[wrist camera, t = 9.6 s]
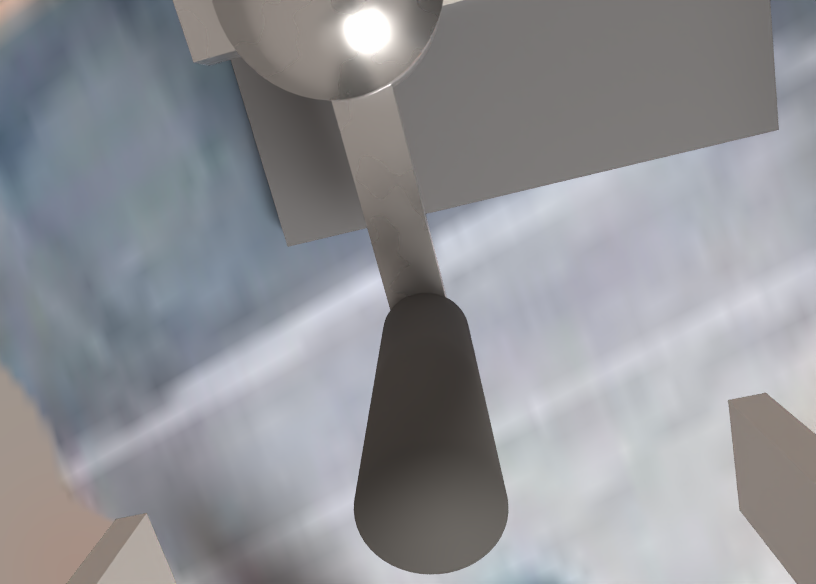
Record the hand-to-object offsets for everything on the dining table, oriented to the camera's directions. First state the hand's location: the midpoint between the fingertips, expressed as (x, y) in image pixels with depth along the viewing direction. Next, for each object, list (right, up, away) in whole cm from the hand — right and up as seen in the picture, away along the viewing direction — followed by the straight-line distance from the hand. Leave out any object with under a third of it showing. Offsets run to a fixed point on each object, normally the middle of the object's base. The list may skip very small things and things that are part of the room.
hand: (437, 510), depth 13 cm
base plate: (+3, +16, +15) cm, 23 cm away
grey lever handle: (-2, +11, +11) cm, 16 cm away
